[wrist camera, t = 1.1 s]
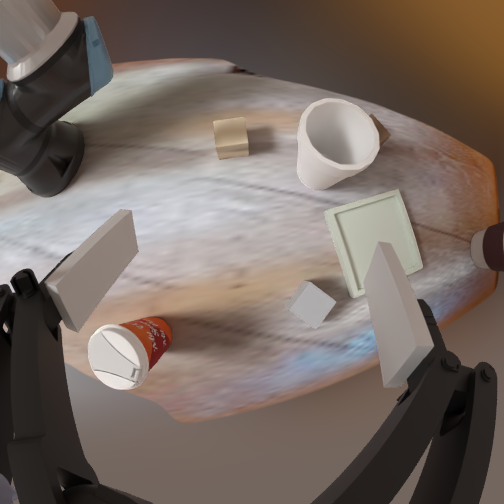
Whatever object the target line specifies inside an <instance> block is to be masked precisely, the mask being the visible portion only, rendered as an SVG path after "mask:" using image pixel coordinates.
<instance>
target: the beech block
mask: <svg viewBox="0 0 504 504" xmlns="http://www.w3.org/2000/svg"><path fill="white" fill-rule="evenodd" d="M213 126H214V135H215V145H216V150H217V153H218V157H219V160H221V159H228V158H235V157H242V156H249V148H248V138H247V132H246V125H245V119H244V117H237V118H230V119H223V120H217V121H213Z"/></svg>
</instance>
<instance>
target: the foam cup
mask: <svg viewBox="0 0 504 504" xmlns="http://www.w3.org/2000/svg"><path fill="white" fill-rule="evenodd" d="M297 142H298V161H297V173H298V176H299V178H300V180H301V181H302V182H303V183H304V184H305V185H306V186H307V187H309V188H311V189H314V190H325V189H327V188H329V187H331V186H332V185H334V184H336V183H338V182H339V181H341V180H343V179H345V178H347V177H352V176H354V175H355V174H357V173H359V172H361V171H363V170H364V169H366V168H367V167H368V166H369V165H370V164H371V163H372V162H373V160H374V159H375V157H376V155H377V153H378V151H379V149H380V147H379V133H378V131H377V129H376V127H375V125H374V123H373V121H372V119H371V118H370V117H369V116H368V115H367V114H366V113H365V112H364V111H363V110H362V109H361V108H360V107H358V106H357V105H354V104H352V103H350V102H347V101H345V100H343V99H332V98H324V99H321V100H319V101H316V102H314V103H311V104H310V105H309V106H308V108H307V109H306V110H305V112H304V113H303V114H302V116H301V119H300V122H299V125H298V136H297Z"/></svg>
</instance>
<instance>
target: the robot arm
mask: <svg viewBox="0 0 504 504" xmlns="http://www.w3.org/2000/svg"><path fill="white" fill-rule="evenodd" d="M0 56H1V57H2V58H3V59H4V60H5V61H6V62H8V70H7V78H8V80H7V81H6V82H4V79H0V170H3V171H5V172H8V173H10V174H13V175H15V176H17V177H18V178H19V179H20V180H21V181H22V182H23V183H24V184H25V185H26V186H27V188H28V189H29V190H30V191H31V192H32V193H34V194H36V195H38V196H41V197H51V196H54V195H56V194H58V193H59V192H60V191H62V190H63V189H64V188H65V187H66V186H67V185H68V184H69V182H70V181H71V180H72V178H73V177H74V175H75V174H76V172H77V170H78V168H79V166H80V163H81V160H82V157H83V152H84V138H83V135H82V133H81V131H80V130H79V129H78V128H77V127H76V126H74V125H73V124H71V123H69V122H66V121H59V120H58V119H59V118H61V117H62V116H63V115H65V114H66V113H67V112H69V111H70V110H71V109H73V108H74V107H76V106H77V105H78V104H80V103H81V102H83V101H84V100H86V99H87V98H89V97H90V96H91V97H92V96H93V95H94V93H95V92H97V91H98V90H99V89H101V88H102V87H104V86H105V85H107V84H108V83H109V82H110V81H111V79H112V77H113V68H112V64H111V61H110V58H109V55H108V52H107V49H106V46H105V43H104V40H103V38H102V35H101V32H100V29H99V27H98V24H97V22H96V20H95V18H94V17H92V16H91V17H88V18H84V20H83V21H81V20H80V18H79V17H78V15H77V14H76V13H75V12H65V13H61V12H59V10H58V9H57V8H56V6H55V5H54V3H53V2H52V1H51V0H0ZM138 252H139V251H138V246H137V240H136V235H135V229H134V223H133V216H132V210H123V209H120V210H119V211H118V212H117V213H116V214H114V215H113V216H112V217H111V218H110V219H109V220H108V221H106V222H105V223H104V224H103V225H102V226H101V227H100V228H98V229H97V230H96V231H95V232H94V233H93V234H92V235H91V236H90V237H89V238H88V239H86V240H85V241H84V242H83V243H82V244H81V245H80V246H79V247H78V248H77V249H76V250H75V251H73V252H71V253H70V254H68V255H66V256H65V257H64V258H63V259H62V260H61V261H60V263H58V264H57V265H56V266H55V268H54V269H53V270H52V271H51V272H50V273H49V274H48V275H47V276H46V277H45V278H44V279H43V280H42V281H41V282H40V283H39V284H38V281H37V279H36V277H35V275H34V272H33V271H32V270H31V269H23V270H21V271H19V272H17V273H16V274H15V275H14V276H13V277H12V279H11V281H10V282H11V284H12V286H13V288H14V290H15V292H16V293H12V291H11V289H10V287H9V286H8V285H7V284H3V285H0V504H13V501H12V500H17V499H19V503H20V504H153V503H151V502H149V501H146V500H144V499H141V498H139V497H136V496H133V495H131V494H129V493H126V492H123V491H119V490H117V489H113V488H110V487H108V486H105V485H102V484H100V483H99V481H98V478H97V476H96V474H95V472H94V470H93V468H92V467H91V466H90V464H89V463H88V462H87V460H86V458H85V456H84V453H83V450H82V446H81V443H80V440H79V437H78V432H77V428H76V424H75V421H74V417H73V412H72V407H71V402H70V397H69V392H68V386H67V379H66V373H65V366H64V356H63V347H62V334H61V327H60V325H59V323H60V321H61V320H63V322H64V324H65V325H66V327H67V328H68V329H71V330H73V331H76V332H79V331H80V329H81V328H82V326H83V325H84V323H85V322H86V321H87V319H88V318H89V316H90V315H91V313H92V312H93V311H94V309H95V308H96V306H97V305H98V304H99V302H100V301H101V300H102V298H103V297H104V295H105V294H106V293H107V291H108V290H109V289H110V287H111V286H112V285H113V284H114V282H115V281H116V280H117V278H118V277H119V276H120V274H121V273H122V272H123V271H124V269H125V268H126V267H127V266H128V264H129V263H130V262H131V261H132V259H133V258H134V257H135V256H136V254H137V253H138ZM363 285H364V289H365V293H366V297H367V301H368V306H369V310H370V314H371V319H372V323H373V328H374V333H375V338H376V343H377V348H378V354H379V359H380V365H381V371H382V377H383V384H384V388H397V387H401V386H402V385H403V383H404V382H405V381H406V380H407V382H408V389H407V390H406V391H405V392H404V393H403V394H402V395H401V396H400V397H399V398H398V399H397V401H398V403H397V404H396V406H395V407H394V409H393V411H392V412H391V413H390V415H389V416H388V417H387V419H386V420H385V422H384V423H383V424H382V426H381V427H380V429H379V430H378V431H377V432H376V434H375V435H374V436H373V438H372V439H371V440H370V441H369V443H368V444H367V445H366V446H365V448H364V449H363V450H362V451H361V452H360V454H359V455H358V456H357V457H356V458H355V459H354V460H353V462H352V463H351V464H350V465H349V466H348V467H347V468H346V470H344V472H343V473H342V474H341V475H340V476H339V477H338V478H337V479H336V480H335V481H334V482H333V483H332V484H331V485H330V486H329V487H328V488H327V489H326V490H325V491H324V492H323V493H322V494H321V495H320V496H318V497H317V498H316V499H315V500H314V501H313V502H312V503H311V504H389V503H390V502H391V501H392V499H393V498H394V496H395V495H396V494H397V493H398V491H399V490H400V489H401V487H402V486H403V484H404V483H405V482H406V480H407V479H408V477H409V476H410V474H411V473H412V471H413V470H414V468H415V466H416V465H417V463H418V461H419V460H420V458H421V457H422V455H423V453H424V452H425V450H426V448H427V446H428V445H429V443H430V441H431V439H432V437H433V439H432V443H431V446H430V449H429V453H428V456H427V459H426V462H425V465H424V468H423V470H422V473H421V476H420V478H419V481H418V484H417V486H416V488H415V491H414V493H413V496H412V498H411V500H410V502H409V504H479V501H480V498H481V495H482V491H483V488H484V484H485V480H486V476H487V471H488V467H489V462H490V456H491V451H492V445H493V438H494V430H495V420H496V407H497V406H496V405H497V375H496V372H495V370H494V368H493V367H492V366H491V365H490V364H488V363H487V362H480V363H479V364H478V365H477V366H476V367H475V368H474V369H472V368H469V367H465V366H462V365H461V362H460V360H459V359H458V357H457V356H456V355H455V354H454V353H452V352H450V351H447V350H446V347H445V344H444V342H443V339H442V336H441V333H440V331H439V328H438V326H437V325H436V324H437V323H436V321H435V318H434V316H433V313H432V311H431V309H430V307H429V306H428V305H427V303H426V302H425V301H424V300H423V299H416V296H415V294H414V292H413V289H412V287H411V285H410V282H409V280H408V278H407V276H406V274H405V271H404V269H403V267H402V265H401V263H400V261H399V259H398V257H397V254H396V252H395V250H394V248H393V246H392V244H391V243H387V242H381V241H378V242H377V245H376V248H375V251H374V254H373V257H372V260H371V263H370V265H369V268H368V271H367V274H366V276H365V279H364V282H363ZM4 323H5V325H6V326H7V328H8V331H7V333H6V332H5V331H4V329H3V324H4ZM14 433H15V438H14ZM12 477H13V481H14V485H15V488H14V487H12V486H11V481H12ZM60 485H61V486H62V487H63V488H64V489H65V490H64V491H62V490H61V487H60Z"/></svg>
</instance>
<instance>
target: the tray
mask: <svg viewBox="0 0 504 504" xmlns="http://www.w3.org/2000/svg"><path fill="white" fill-rule="evenodd" d="M323 214H324V217H325V219H326V222H327V225H328V228H329V231H330V234H331V237H332V240H333V243H334V246H335V249H336V252H337V255H338V258H339V261H340V265H341V268H342V271H343V274H344V278H345V281H346V285H347V288H348V291H349V295H350V297H353V298H356V297H359V296H361V295H363V294H366V293H365V289H364V285H363V282H364V279H365V276H366V274H367V271H368V268H369V265H370V263H371V260H372V257H373V254H374V251H375V248H376V245H377V242H378V241H381V242H387V243H391V244H392V246H393V248H394V250H395V252H396V254H397V257H398V259H399V261H400V263H401V265H402V267H403V269H404V271H405V274H406V276H407V275H409V274H412V273H414V272H416V271H418V270H420V269H422V268H423V264H422V260H421V256H420V253H419V249H418V246H417V242H416V239H415V235H414V232H413V229H412V226H411V223H410V220H409V217H408V214H407V211H406V208H405V205H404V202H403V200H402V197H401V194H400V192H399V189H396V190H393V191H389V192H386V193H382V194H379V195H376V196H372V197H369V198H366V199H362V200H359V201H356V202H352V203H349V204H346V205H342V206H339V207H336V208H332V209H329V210H326V211H325V212H324V213H323Z"/></svg>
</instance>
